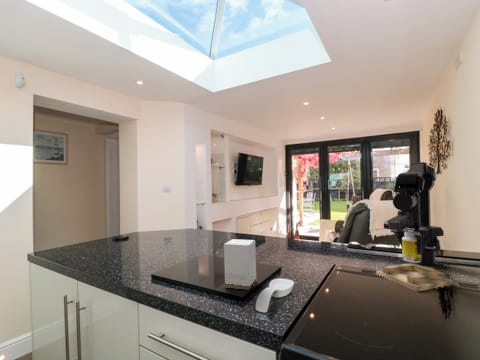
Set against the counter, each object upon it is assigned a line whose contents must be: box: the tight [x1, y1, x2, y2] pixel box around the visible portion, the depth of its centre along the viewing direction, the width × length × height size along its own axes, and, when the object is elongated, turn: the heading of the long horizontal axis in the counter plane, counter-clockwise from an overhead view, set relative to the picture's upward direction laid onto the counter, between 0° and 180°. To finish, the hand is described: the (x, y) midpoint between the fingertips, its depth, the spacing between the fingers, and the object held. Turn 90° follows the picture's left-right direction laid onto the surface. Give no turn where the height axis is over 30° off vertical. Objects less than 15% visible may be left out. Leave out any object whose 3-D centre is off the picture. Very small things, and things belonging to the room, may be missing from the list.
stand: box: [375, 262, 454, 292], centre depth 90 cm, size 16×16×4 cm
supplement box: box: [223, 238, 257, 286], centre depth 89 cm, size 9×9×15 cm
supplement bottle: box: [401, 230, 421, 264], centre depth 91 cm, size 6×6×10 cm
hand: (411, 252), depth 91 cm, fingers closed on supplement bottle, 6 cm apart
